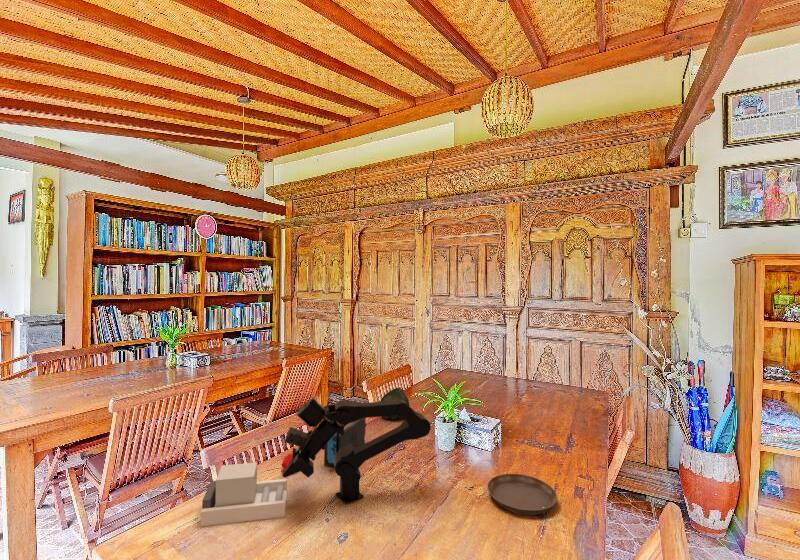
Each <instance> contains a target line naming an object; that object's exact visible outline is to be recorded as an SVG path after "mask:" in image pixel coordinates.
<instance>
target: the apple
mask: <svg viewBox="0 0 800 560" xmlns="http://www.w3.org/2000/svg"><path fill="white" fill-rule="evenodd" d="M292 454H293V452H290V453H288V454H287V455H286V456H284V457H283V460H282V462H281V467H282V469H283V472H284V471H285V469H286V467H287V466H288V464H289V462H290V460H291V459H292Z"/></svg>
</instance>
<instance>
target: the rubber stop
mask: <svg viewBox="0 0 800 560" xmlns="http://www.w3.org/2000/svg"><path fill="white" fill-rule="evenodd" d="M215 503H216V480H210V482H209V485H208V487H207V490H206V492H205V493H204V496H203V498H202V503H201V505H202V506H201V510H202V509H204V508H213V507H214V506H215Z"/></svg>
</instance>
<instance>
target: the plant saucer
mask: <svg viewBox="0 0 800 560" xmlns="http://www.w3.org/2000/svg"><path fill="white" fill-rule="evenodd" d="M486 487H487V491H488V492H489V494H490V496H491V498H492V499H493V500H494V502H495V503H496V504H498V505H499V506H500V507H502V508H503V509H505V510H506V511H509V512H511V511H512V512H511V513H514V512H515V514H518V513H519V515H523V514H525V516H535V515H536V514H537V515H541V514H543V513H546V512H547V511H550V509H552V507H554V506H555V504H556V503H557V500H558V496H557V493H556V491H555V490H554V488H553V486H551V485H549V484H548V483H547V482H545V481H542V480H541V479H539V478H536V477H533V476H529V475H526V474H519V473H504V474H500V475H496V476H494V477H492V478H490V480H489V481H488V483H487V486H486ZM542 507H545V508H542Z"/></svg>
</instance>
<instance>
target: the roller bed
mask: <svg viewBox="0 0 800 560" xmlns="http://www.w3.org/2000/svg"><path fill="white" fill-rule="evenodd" d="M287 494H288V478H282V479H281V478H280V479H271V480H270V479H269V480H261V481H258V480H257V490H256V495H255V500H254V503H251V504H242V505H232V506H223V507H215V506H214V507H213V508H204V509H202V508H201V511H200V527H208V526H209V527H210V526H215V525H226V524H233V523H244V522H251V521H259V520H261V521H262V520H270V519H278V518H279V519H280V518H284V517H285V518H286V508H287V496H288V495H287ZM215 505H216V503H215Z"/></svg>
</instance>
